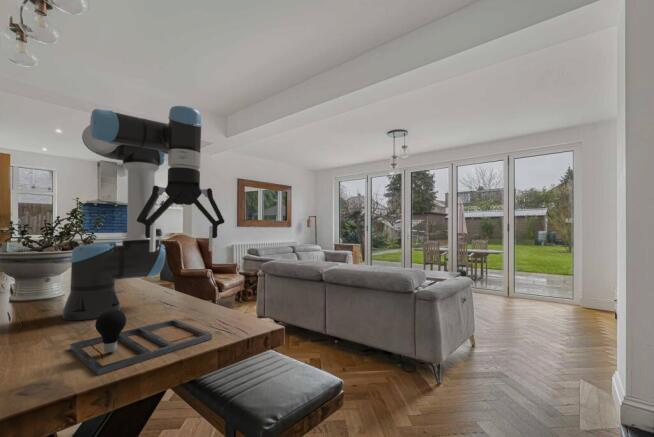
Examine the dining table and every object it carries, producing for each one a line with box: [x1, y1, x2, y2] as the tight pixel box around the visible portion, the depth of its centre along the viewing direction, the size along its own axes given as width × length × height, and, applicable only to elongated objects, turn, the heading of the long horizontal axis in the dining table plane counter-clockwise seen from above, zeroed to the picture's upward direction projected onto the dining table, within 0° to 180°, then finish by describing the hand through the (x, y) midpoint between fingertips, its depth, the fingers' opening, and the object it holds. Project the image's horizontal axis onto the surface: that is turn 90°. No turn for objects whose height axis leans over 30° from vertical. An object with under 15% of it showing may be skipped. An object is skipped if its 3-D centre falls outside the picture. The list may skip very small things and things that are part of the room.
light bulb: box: [94, 310, 127, 355], centre depth 71 cm, size 6×6×10 cm
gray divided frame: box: [69, 318, 213, 376], centre depth 77 cm, size 20×25×1 cm
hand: (182, 251), depth 78 cm, fingers open, 13 cm apart
